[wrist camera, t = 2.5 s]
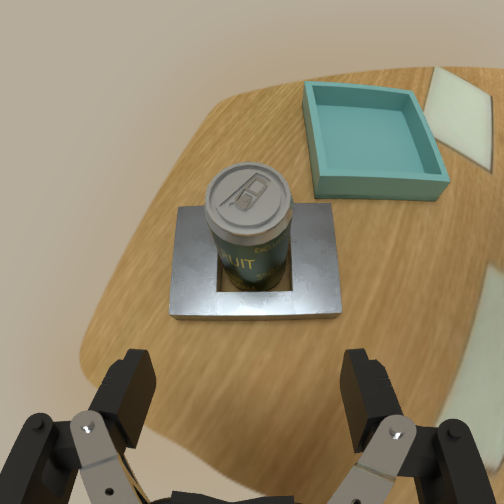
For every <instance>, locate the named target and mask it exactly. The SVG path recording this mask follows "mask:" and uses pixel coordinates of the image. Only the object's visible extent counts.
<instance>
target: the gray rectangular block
mask: <svg viewBox="0 0 504 504" xmlns="http://www.w3.org/2000/svg"><path fill="white" fill-rule="evenodd" d="M289 263H290V287H291V291H281V292H221V264H222V261H221V258H220V255H219V253H218V250H217V248H216V245H215V242H214V240H213V237H212V234H211V232H210V229H209V226H208V224H207V221H206V218H205V210H204V206H185V207H178V214H177V223H176V232H175V242H174V252H173V263H172V275H171V289H170V303H169V315H170V316H172V317H173V318H175V319H176V320H209V321H256V320H301V319H326V318H336V317H337V316H339V315H340V314H341V313H342V306H341V293H340V281H339V270H338V260H337V250H336V241H335V232H334V224H333V215H332V208H331V203H294V205H293V215H292V222H291V229H290V237H289Z"/></svg>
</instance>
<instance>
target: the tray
mask: <svg viewBox="0 0 504 504" xmlns="http://www.w3.org/2000/svg"><path fill="white" fill-rule="evenodd" d="M302 107H303V114H304V120H305V127H306V134H307V141H308V148H309V155H310V163H311V171H312V179H313V187H314V196H315V199H387V200H417V201H436V200H437V198H438V197H439V196H440V195H441V193H442V192H443V191H444V189H445V188H446V187H447V186H448V184H449V183H450V179H449V176H448V173H447V170H446V168H445V165H444V162H443V160H442V157H441V154H440V152H439V149H438V147H437V144H436V142H435V139H434V137H433V134H432V132H431V130H430V127H429V125H428V123H427V120H426V118H425V116H424V114H423V112H422V110H421V107H420V105H419V103H418V101H417V99H416V97H415V95H414V93H413V91H409V90H402V89H395V88H387V87H379V86H370V85H360V84H349V83H334V82H314V81H304V91H303V102H302Z"/></svg>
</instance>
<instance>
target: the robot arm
mask: <svg viewBox="0 0 504 504" xmlns="http://www.w3.org/2000/svg"><path fill="white" fill-rule="evenodd" d="M391 385H392V384H391V382H390V379H389V378H388V374H387V372H386V370H385V367H384V366H383V365H382V364H381V363H380V362H379V361H377V360H369V359H368V356H367V354H366V351H365V349H364V348H361V349H349V350H345V353H344V359H343V364H342V369H341V375H340V390H341V394H342V399H343V403H344V407H345V412H346V416H347V421H348V425H349V430H350V434H351V439H352V443H353V448H354V453H361V452H363V454H362V456H361V457H360V459H359V460H358V462H357V463H356V464H355V465H354V466H353V467H352V469H351V470H350V472H349V473H348V475H347V476H346V478H345V479H344V480H343V482H342V483H341V485H340V486H339V488H338V489H337V490H336V492H335V493H334V495H333V496H332V497H331V499H330V500H329V501H328V503H327V504H383V502H384V501H385V499H386V497H387V495H388V494H389V492H390V490H391V488H392V486H393V484H394V482H395V480H396V479H395V478H396V476H404V477H414V481H415V485H416V490H417V495H418V500H419V504H496V501H495V497H494V494H493V491H492V488H491V485H490V482H489V479H488V476H487V473H486V470H485V468H484V465H483V462H482V459H481V457H480V454H479V451H478V449H477V446H476V444H475V441H474V439H473V436H472V434H471V431H470V429H469V427H468V426H467V425H466V424H465V423H464V422H463V421H461V420H458V419H448V420H445V421H444V422H442V423H441V424H440V426H439V427H438V428H437V427H422V426H417V425H415V424H414V422H413V421H412V420H411V419H409V418H408V417H406V416H404V415H403V413H402V410H401V407H400V405H399V402H398V400H397V397H396V394H395V392H394V389H393V387H392V386H391ZM155 389H156V376H155V372H154V369H153V366H152V362H151V359H150V356H149V353H148V351H147V350H141V349H129V350H128V351H127V353H126V355H125V357H124V359H123V360H119V359H118V360H117V361H116V362H115V363H114V364H113V365H111V366H110V368H109V370H108V371H107V373H106V375H105V377H104V379H103V381H102V385H100V387H99V389H98V391H97V393H96V395H95V397H94V399H93V401H92V403H91V405H90V407H89V409H88V410H87V411H82V412H80V413H78V414H77V415H75V416H74V417H73V419H72V421H60V422H53V420H52V419H51V417H50V416H49V415H47V414H45V413H36V414H33V415H31V416H30V417H29V418H28V419H27V420H26V422H25V424H24V425H23V428H22V429H21V431H20V433H19V435H18V437H17V439H16V441H15V443H14V445H13V447H12V449H11V452H10V454H9V456H8V458H7V460H6V463H5V465H4V467H3V469H2V471H1V473H0V504H68V502H69V499H70V495H71V492H72V489H73V486H74V483H75V479H76V476H77V473H78V470H79V469H80V474H81V477H82V480H83V483H84V485H85V488H86V491H87V493H88V496H89V499H90V501H91V503H92V504H301V503H296V502H294V496H274V497H260V498H255V499H249V500H244V501H239V502H227V501H223V500H219V499H216V498H213V497H209V496H205V495H203V494H196V493H187V492H178V491H172V495H171V497H169V498H163V499H159V500H155V501H153V502H150V501H149V499H148V498H147V496H146V494H145V493H144V491H143V490H142V488H141V486H140V484H139V483H138V481H137V479H136V477H135V475H134V473H133V471H132V469H131V467H130V465H129V463H128V461H127V459H126V457H125V455H124V452H125V449H126V447H128V448H134V449H135V448H136V446H137V443H138V439H139V436H140V433H141V430H142V427H143V424H144V421H145V418H146V415H147V412H148V409H149V406H150V403H151V401H152V398H153V395H154V392H155Z"/></svg>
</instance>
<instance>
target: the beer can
mask: <svg viewBox="0 0 504 504" xmlns="http://www.w3.org/2000/svg"><path fill="white" fill-rule="evenodd" d="M293 205H294V203H293V199H292V195H291V192H290V190H289V186H288V183H287V182H286V180H285V179H284V177H283V176H282V175H281V174H280V173H279V172H278V171H276V170H275V169H273V168H272V167H270V166H267V165H264V164H262V163H256V162H243V163H237V164H234V165H231V166H229V167H227V168H225V169H223V170H222V171H220V172H219V173H218V174H217V175H216V176H214V178H213V179H212V181H211V182H210V184H209V185H208V188H207V191H206V195H205V205H204V210H205V218H206V221H207V224H208V226H209V229H210V232H211V234H212V237H213V240H214V242H215V245H216V248H217V250H218V253H219V255H220V258H221V261H222V263H223V266H224V268H225V271H226V273H227V275H228V277H229V279H230V281H231V282H232V283H233V284H234V285H235V286H236V287H238V288H240V289H242V290H244V291H247V292H262V291H266V290H268V289H270V288H272V287H274V286H275V285H276V284H277V283H278V282H279V281H280V279H281V277H282V275H283V273H284V271H285V264H286V257H287V250H288V244H289V237H290V229H291V222H292V215H293Z"/></svg>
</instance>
